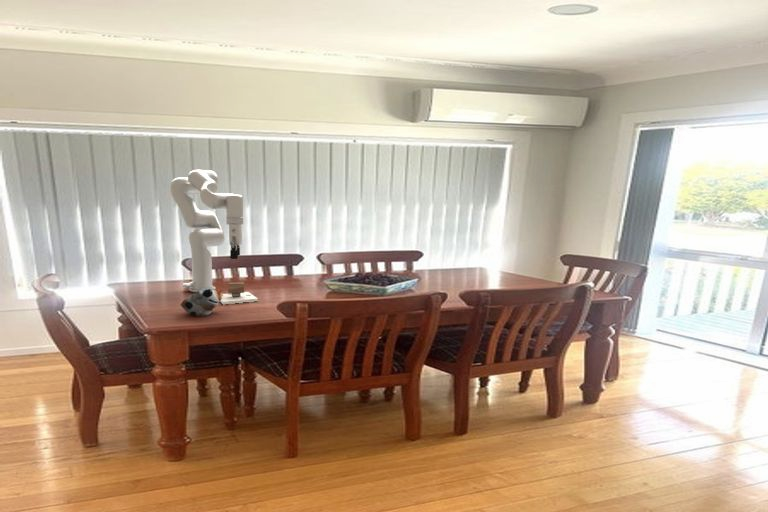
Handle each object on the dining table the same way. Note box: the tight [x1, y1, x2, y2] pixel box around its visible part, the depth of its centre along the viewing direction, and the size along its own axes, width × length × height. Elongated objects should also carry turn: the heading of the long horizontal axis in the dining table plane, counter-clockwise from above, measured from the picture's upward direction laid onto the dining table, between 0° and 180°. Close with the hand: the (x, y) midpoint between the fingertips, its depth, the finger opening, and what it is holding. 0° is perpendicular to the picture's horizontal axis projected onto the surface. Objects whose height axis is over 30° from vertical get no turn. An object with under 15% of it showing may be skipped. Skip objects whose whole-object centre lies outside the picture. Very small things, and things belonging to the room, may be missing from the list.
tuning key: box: [227, 281, 245, 297], centre depth 245 cm, size 10×7×6 cm
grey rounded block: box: [180, 288, 223, 317], centre depth 216 cm, size 15×12×14 cm
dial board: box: [219, 291, 258, 306], centre depth 242 cm, size 16×16×2 cm
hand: (235, 257), depth 240 cm, fingers open, 9 cm apart
